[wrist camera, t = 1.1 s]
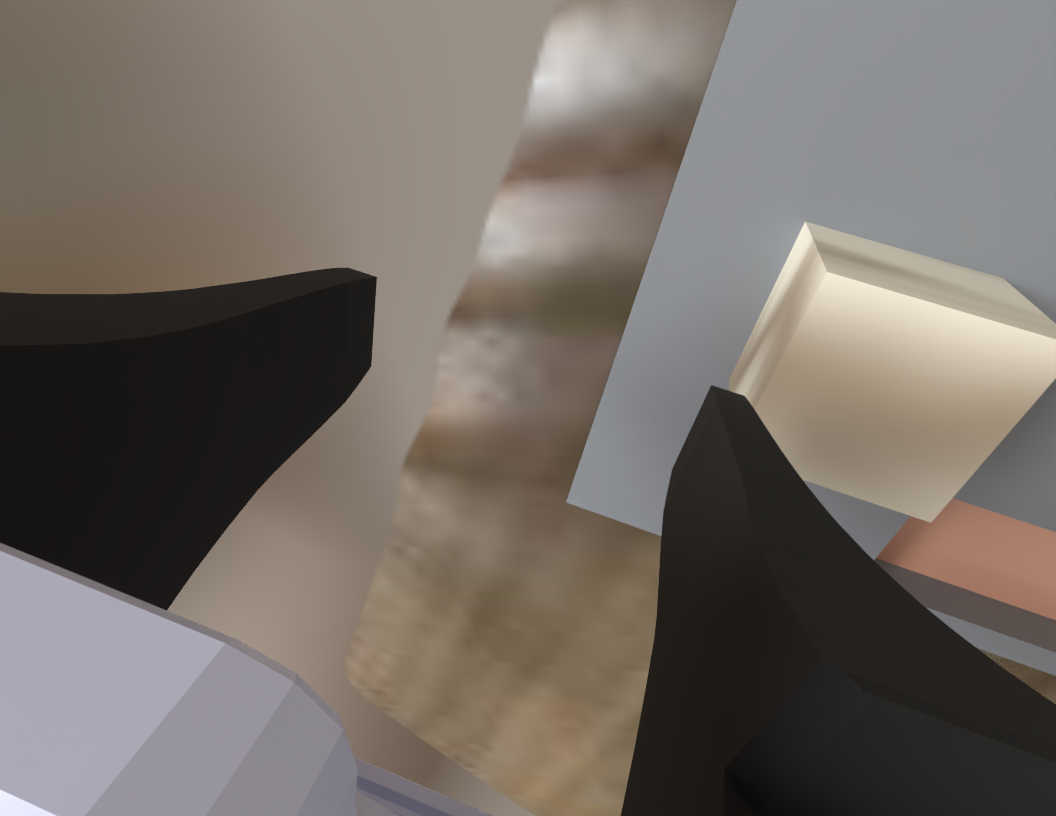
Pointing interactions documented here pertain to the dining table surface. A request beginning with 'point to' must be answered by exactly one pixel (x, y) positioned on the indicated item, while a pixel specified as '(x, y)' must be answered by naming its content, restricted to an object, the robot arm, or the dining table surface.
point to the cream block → (891, 369)
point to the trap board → (875, 214)
